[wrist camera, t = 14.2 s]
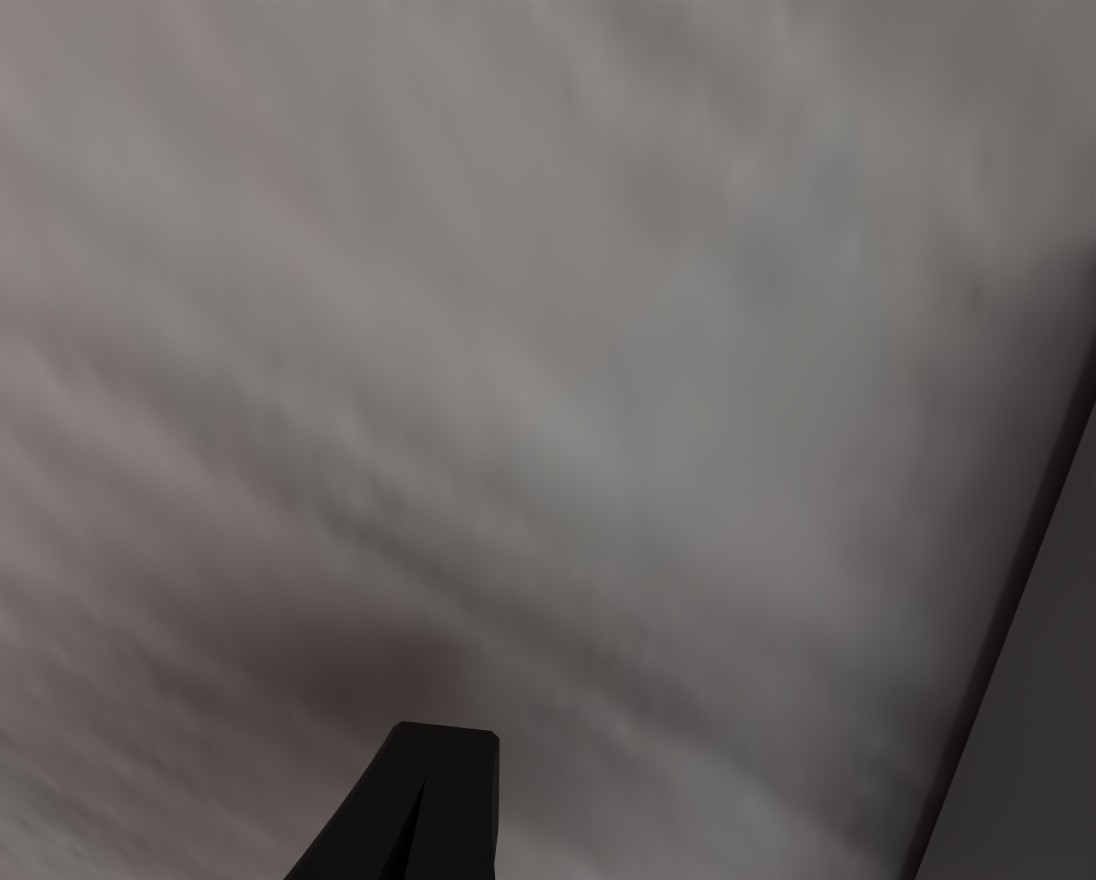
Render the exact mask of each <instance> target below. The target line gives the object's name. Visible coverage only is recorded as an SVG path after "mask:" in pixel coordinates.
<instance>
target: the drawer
mask: <svg viewBox="0 0 1096 880" xmlns="http://www.w3.org/2000/svg"><path fill="white" fill-rule="evenodd" d="M915 880H1096V402H1095V404H1094V407H1093V410H1092V412H1091V415H1090V417H1089V420H1088V423H1087V425H1086V428H1085V431H1084V433H1083V436H1082V439H1081V441H1080V444H1079V447H1078V449H1077V452H1076V455H1075V457H1074V460H1073V462H1072V465H1071V468H1070V470H1069V473H1068V476H1067V478H1066V481H1065V484H1064V486H1063V489H1062V492H1061V494H1060V497H1059V500H1058V502H1057V505H1056V507H1055V510H1054V513H1053V515H1052V518H1051V521H1050V523H1049V526H1048V529H1047V531H1046V534H1045V537H1044V539H1043V542H1042V545H1041V547H1040V550H1039V552H1038V555H1037V558H1036V560H1035V563H1034V566H1033V568H1032V571H1031V574H1030V576H1029V579H1028V582H1027V584H1026V587H1025V589H1024V592H1023V595H1022V597H1021V600H1020V603H1019V605H1018V608H1017V611H1016V613H1015V616H1014V619H1013V621H1012V624H1011V627H1010V629H1009V632H1008V634H1007V637H1006V640H1005V642H1004V645H1003V648H1002V650H1001V653H1000V656H999V658H998V661H997V664H996V666H995V669H994V672H993V674H992V677H991V679H990V682H989V685H988V687H987V690H986V693H985V695H984V698H983V701H982V703H981V706H980V709H979V711H978V714H977V717H976V719H975V722H974V724H973V727H972V730H971V732H970V735H969V738H968V740H967V743H966V746H965V748H964V751H963V754H962V756H961V759H960V762H959V764H958V767H957V769H956V772H955V775H954V777H953V780H952V783H951V785H950V788H949V791H948V793H947V796H946V799H945V801H944V804H943V807H942V809H941V812H940V814H939V817H938V820H937V822H936V825H935V828H934V830H933V833H932V836H931V838H930V841H929V844H928V846H927V849H926V852H925V854H924V857H923V859H922V862H921V865H920V867H919V870H918V873H917V875H916V878H915Z"/></svg>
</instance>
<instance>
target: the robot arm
mask: <svg viewBox="0 0 1096 880" xmlns="http://www.w3.org/2000/svg"><path fill="white" fill-rule="evenodd" d="M499 741H500V739H499V738H498V737H497V736H496V735H495V734H494V733H493V732H492V731H487V730H478V729H468V728H459V727H450V726H441V725H432V724H423V723H414V722H405V721H401V722H400V723H398V724H397V725H395V726H394V727H393V729H392V730H391V732H390V734H389V735H388V737H387V738H386V740H385V742H384V743H383V745H382V746H381V748H380V749H379V751H378V752H377V754H376V755H375V757H374V759H373V760H372V762H371V763H370V765H369V766H368V767H367V769H366V770H365V772H364V773H363V775H362V776H361V778H360V779H359V781H358V782H357V783H356V785H355V786H354V788H353V789H352V790H351V792H350V793H349V795H348V796H347V797H346V799H345V800H344V802H343V803H342V804H341V806H340V807H339V808H338V810H337V811H336V813H335V814H334V815H333V817H332V818H331V819H330V820H329V822H328V823H327V824H326V826H325V827H324V828H323V830H322V831H321V832H320V833H319V835H318V836H317V837H316V839H315V840H314V841H313V843H312V844H311V845H310V846H309V848H308V849H307V850H306V852H305V853H304V854H303V856H302V857H301V858H300V860H299V861H298V862H297V863H296V865H295V866H294V867H293V868H292V870H291V871H290V872H289V873H288V875H287V876H286V877H285V878H284V879H283V880H495V871H494V861H495V852H496V844H497V836H498V815H499Z"/></svg>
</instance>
